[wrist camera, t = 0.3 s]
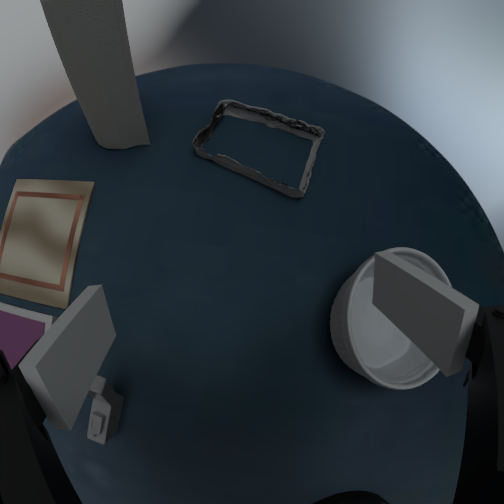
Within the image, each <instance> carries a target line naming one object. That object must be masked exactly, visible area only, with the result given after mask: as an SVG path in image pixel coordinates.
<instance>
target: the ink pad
mask: <svg viewBox="0 0 504 504" xmlns="http://www.w3.org/2000/svg"><path fill="white" fill-rule="evenodd" d="M58 318H59V317H55V316H51V315H47V314H43V313H39V312H35V311H31V310H27V309H23V308H19V307H16V306H12V305H9V304H5V303H2V302H0V350H2V351H3V352H4V355H5V357H6V359H7V361H8V363H9V365H10V367H11V369H13V368H14V367H15V365H16V364H17V363H18V362H19V360H20V359H21V358H22V357H23V356H24V355H25V353H26V352H27V351H28V350H29V349H30V347H31V346H32V345H33V344H34V343H35V341H37V340H38V339H39V338H41V337H42V336H43V335H44V334H45V333H46V332H47V330H48V329H49V328H50V327H51V326H52V325H53V324H54V323H55V321H56V320H57V319H58Z"/></svg>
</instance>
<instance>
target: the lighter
mask: <svg viewBox="0 0 504 504" xmlns="http://www.w3.org/2000/svg"><path fill="white" fill-rule="evenodd" d="M88 394H89V395H90V396H91V397H93V398H94V399H93V402H92V408H91V414H90V420H89V427H88V434H87V437H88V438H89V439H91V440H93V441H96V442H98V443H101V444H105V443H106V442H107V441H108V440H109V439H110V438H111V437H112V436H113V435H114V434H115V433H116V432H117V431H118V426H119V421H120V416H121V410H122V405H123V401H124V397H123V395H120V394H117V393H115V390H114V389H113V388H112V386H111V385H110V384H109V382H108V381H107V379H105V378H103V377H100V376H98V375H96V377H95V379H94V381H93V383H92V385H91V387H90V389H89V391H88Z"/></svg>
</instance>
